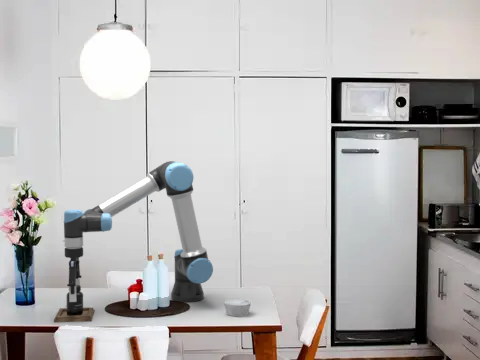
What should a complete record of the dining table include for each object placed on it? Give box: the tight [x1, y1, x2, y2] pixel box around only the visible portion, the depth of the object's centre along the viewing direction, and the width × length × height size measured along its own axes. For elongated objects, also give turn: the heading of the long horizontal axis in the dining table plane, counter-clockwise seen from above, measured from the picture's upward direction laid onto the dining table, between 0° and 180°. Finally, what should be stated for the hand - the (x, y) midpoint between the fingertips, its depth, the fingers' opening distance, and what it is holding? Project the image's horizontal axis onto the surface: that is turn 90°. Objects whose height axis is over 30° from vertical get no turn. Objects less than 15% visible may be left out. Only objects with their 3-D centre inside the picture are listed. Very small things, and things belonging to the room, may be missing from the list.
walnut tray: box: [53, 306, 96, 323], centre depth 301 cm, size 15×15×2 cm
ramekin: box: [224, 298, 252, 317], centre depth 306 cm, size 11×11×5 cm
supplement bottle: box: [65, 284, 84, 316], centre depth 300 cm, size 7×7×12 cm
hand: (74, 297), depth 300 cm, fingers open, 13 cm apart
